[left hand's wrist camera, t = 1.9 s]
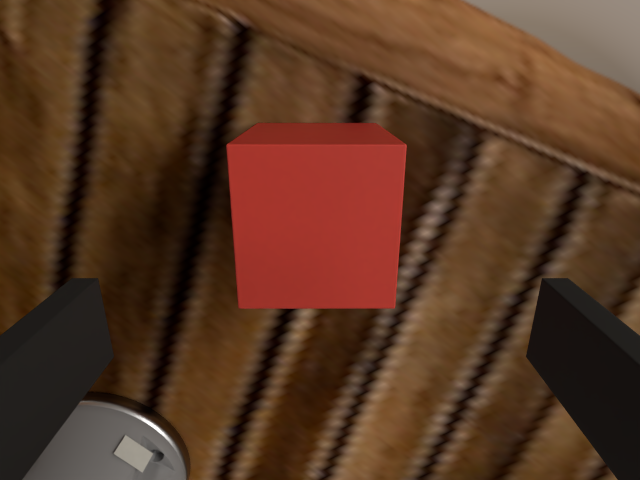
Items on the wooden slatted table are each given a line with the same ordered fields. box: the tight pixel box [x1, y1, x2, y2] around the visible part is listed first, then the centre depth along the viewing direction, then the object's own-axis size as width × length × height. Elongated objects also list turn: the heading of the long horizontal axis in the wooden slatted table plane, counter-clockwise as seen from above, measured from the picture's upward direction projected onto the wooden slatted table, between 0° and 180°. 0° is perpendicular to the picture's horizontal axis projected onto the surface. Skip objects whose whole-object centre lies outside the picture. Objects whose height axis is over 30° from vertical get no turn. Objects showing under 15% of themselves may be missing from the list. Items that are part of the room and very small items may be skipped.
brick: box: [226, 123, 407, 309], centre depth 25 cm, size 8×8×10 cm
